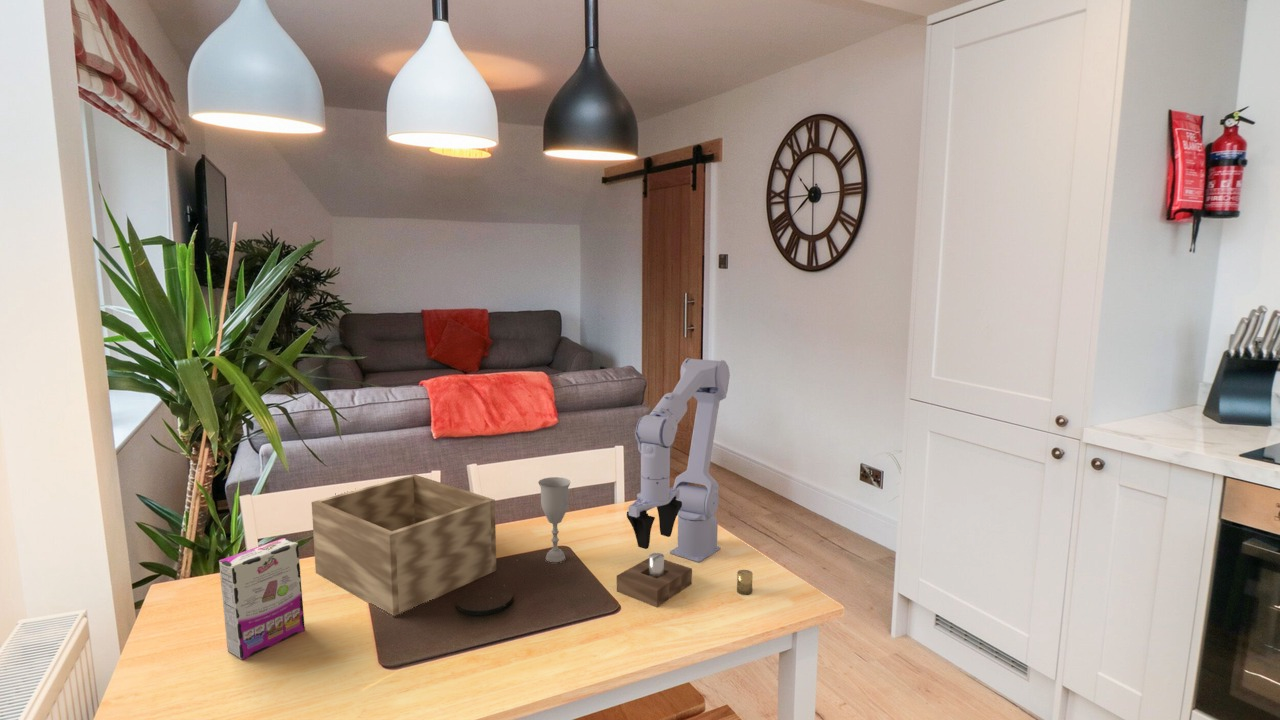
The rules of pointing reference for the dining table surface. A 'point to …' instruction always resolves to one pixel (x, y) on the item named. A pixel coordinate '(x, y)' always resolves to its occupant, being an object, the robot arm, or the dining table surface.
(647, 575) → the walnut block
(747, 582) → the brass pin
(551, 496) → the chalice
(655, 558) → the steel pin
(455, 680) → the dining table surface
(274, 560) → the candy bar box
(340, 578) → the wooden crate
